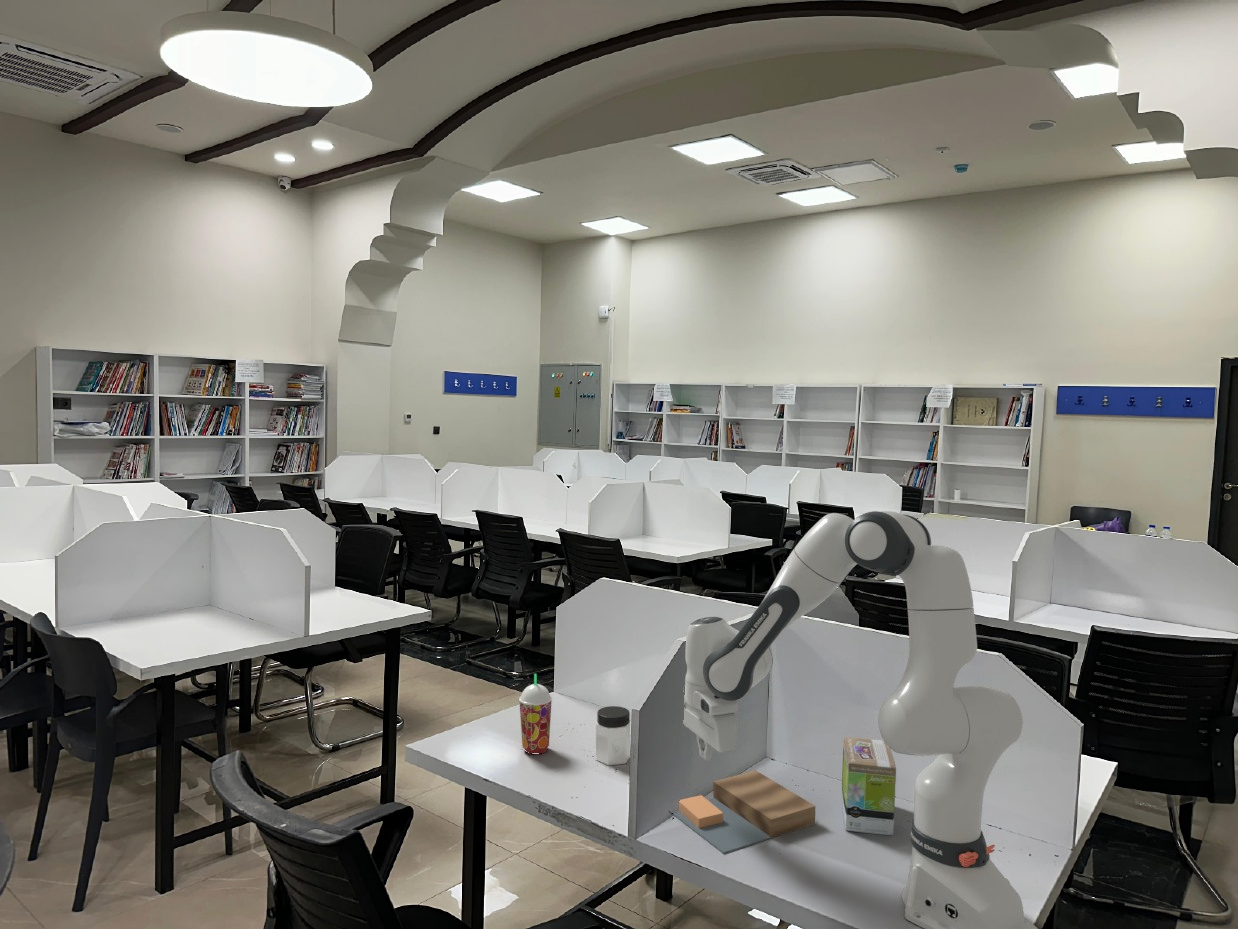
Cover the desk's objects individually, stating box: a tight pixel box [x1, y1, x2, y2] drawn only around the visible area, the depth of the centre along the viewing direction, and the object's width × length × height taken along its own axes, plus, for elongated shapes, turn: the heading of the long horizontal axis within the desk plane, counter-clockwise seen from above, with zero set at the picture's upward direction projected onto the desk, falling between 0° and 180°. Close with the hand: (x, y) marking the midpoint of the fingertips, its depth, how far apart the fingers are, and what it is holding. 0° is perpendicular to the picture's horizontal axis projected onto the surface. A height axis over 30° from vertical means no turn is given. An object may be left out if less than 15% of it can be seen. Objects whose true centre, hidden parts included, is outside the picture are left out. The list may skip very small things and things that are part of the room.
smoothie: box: [518, 673, 553, 754], centre depth 215 cm, size 8×8×20 cm
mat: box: [673, 797, 772, 855], centre depth 177 cm, size 20×12×1 cm, turn 30°
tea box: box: [841, 736, 897, 836], centre depth 180 cm, size 15×10×15 cm
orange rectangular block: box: [679, 794, 723, 828], centre depth 181 cm, size 9×6×2 cm, turn 25°
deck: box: [712, 769, 816, 839], centre depth 183 cm, size 20×12×4 cm, turn 30°
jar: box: [595, 705, 631, 766], centre depth 210 cm, size 9×8×12 cm
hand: (706, 758), depth 178 cm, fingers closed
